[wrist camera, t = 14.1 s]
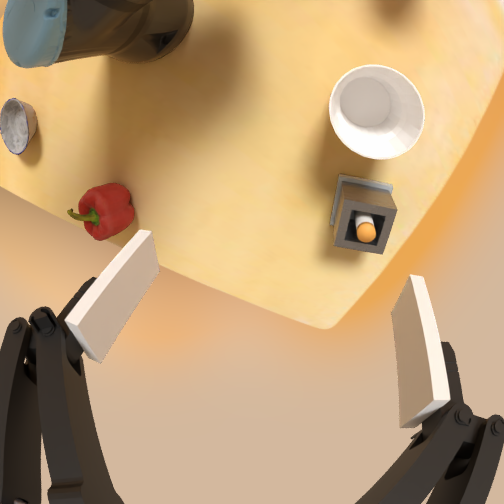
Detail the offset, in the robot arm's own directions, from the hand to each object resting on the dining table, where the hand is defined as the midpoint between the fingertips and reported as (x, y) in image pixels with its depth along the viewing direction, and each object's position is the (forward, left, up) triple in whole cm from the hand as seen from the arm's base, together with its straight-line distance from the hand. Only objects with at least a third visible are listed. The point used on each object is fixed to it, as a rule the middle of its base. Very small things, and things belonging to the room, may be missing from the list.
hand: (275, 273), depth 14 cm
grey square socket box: (+9, -9, -28) cm, 31 cm away
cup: (+7, +6, -29) cm, 30 cm away
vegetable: (-33, -14, -29) cm, 46 cm away
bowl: (-58, +4, -29) cm, 65 cm away
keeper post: (+9, -9, -29) cm, 31 cm away
